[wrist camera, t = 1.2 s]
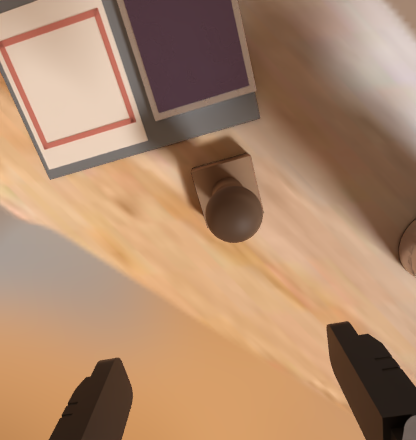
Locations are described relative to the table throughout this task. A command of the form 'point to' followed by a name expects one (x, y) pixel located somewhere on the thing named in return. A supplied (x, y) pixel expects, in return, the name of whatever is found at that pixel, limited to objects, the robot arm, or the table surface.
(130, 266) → the table surface
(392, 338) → the table surface
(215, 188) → the stamp
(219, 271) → the table surface
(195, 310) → the table surface
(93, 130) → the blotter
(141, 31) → the ink pad
